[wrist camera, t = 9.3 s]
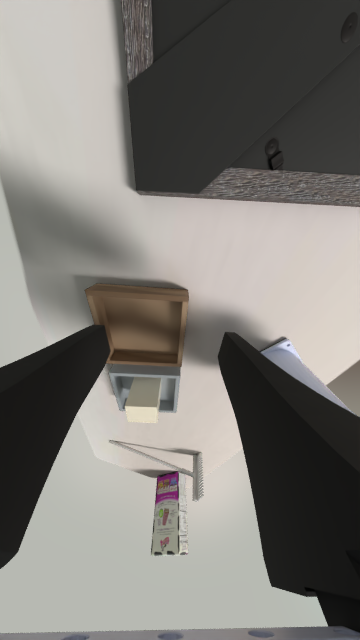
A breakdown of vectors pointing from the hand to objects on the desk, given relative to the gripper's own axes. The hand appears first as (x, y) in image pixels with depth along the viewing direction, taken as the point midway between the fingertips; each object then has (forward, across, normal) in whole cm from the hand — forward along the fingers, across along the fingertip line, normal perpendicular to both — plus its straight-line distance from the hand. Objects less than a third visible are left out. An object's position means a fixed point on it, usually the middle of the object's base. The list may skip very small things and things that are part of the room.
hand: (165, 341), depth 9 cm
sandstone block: (+9, +4, +17) cm, 20 cm away
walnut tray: (+9, +4, +5) cm, 11 cm away
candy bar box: (+10, -3, +76) cm, 77 cm away
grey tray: (+9, +4, +18) cm, 20 cm away
